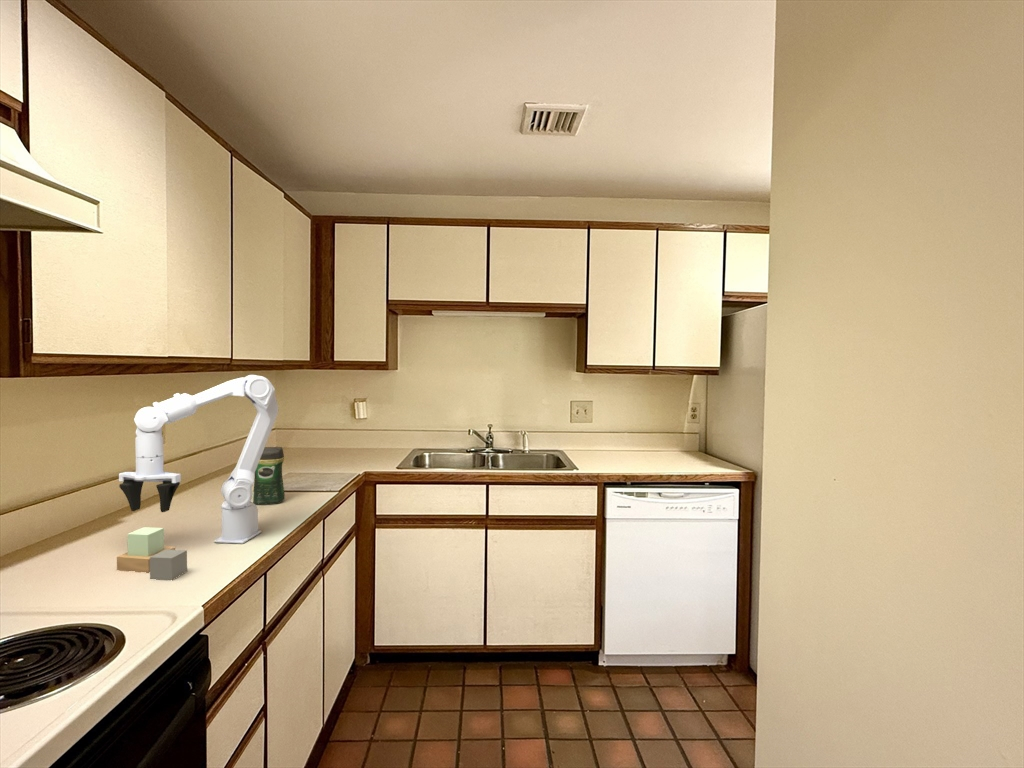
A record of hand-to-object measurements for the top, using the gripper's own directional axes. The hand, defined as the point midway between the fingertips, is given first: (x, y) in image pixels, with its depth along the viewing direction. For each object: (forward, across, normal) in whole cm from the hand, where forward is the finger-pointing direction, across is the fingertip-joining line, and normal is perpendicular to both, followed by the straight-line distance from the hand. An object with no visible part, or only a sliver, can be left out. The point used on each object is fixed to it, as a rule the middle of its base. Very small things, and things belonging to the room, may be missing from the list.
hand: (150, 510), depth 135 cm
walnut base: (+11, +5, -8) cm, 14 cm away
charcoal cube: (+10, +14, -13) cm, 22 cm away
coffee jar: (+11, +5, +48) cm, 49 cm away
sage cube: (+7, +5, -8) cm, 12 cm away
